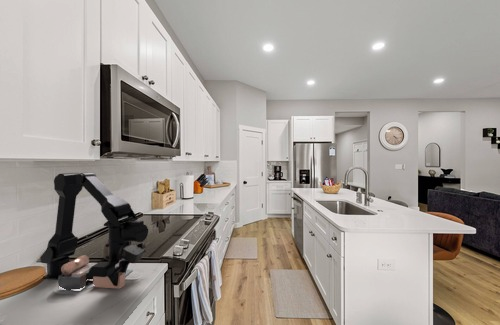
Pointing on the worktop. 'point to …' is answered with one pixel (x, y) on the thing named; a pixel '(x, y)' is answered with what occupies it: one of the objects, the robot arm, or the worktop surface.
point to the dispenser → (75, 273)
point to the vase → (105, 251)
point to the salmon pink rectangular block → (106, 282)
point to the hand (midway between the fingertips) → (118, 283)
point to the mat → (128, 272)
